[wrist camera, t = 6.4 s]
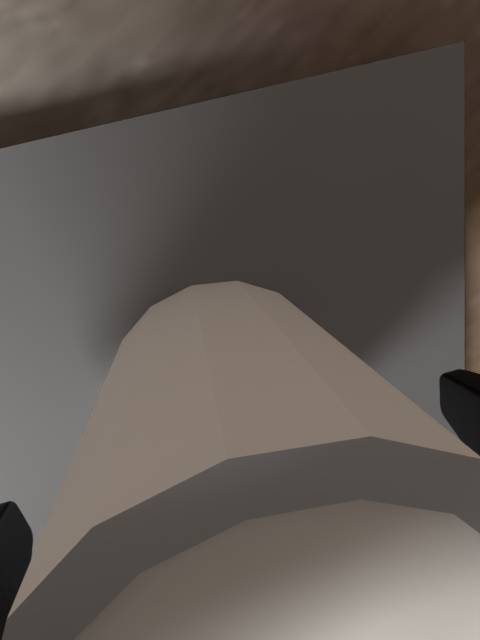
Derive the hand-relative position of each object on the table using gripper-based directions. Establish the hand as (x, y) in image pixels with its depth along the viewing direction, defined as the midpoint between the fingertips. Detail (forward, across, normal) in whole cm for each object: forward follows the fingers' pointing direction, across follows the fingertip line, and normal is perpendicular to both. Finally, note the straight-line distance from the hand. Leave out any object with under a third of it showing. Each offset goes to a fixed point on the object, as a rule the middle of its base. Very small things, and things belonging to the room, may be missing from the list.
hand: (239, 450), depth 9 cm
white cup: (+3, 0, 0) cm, 3 cm away
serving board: (+4, 0, 0) cm, 4 cm away
